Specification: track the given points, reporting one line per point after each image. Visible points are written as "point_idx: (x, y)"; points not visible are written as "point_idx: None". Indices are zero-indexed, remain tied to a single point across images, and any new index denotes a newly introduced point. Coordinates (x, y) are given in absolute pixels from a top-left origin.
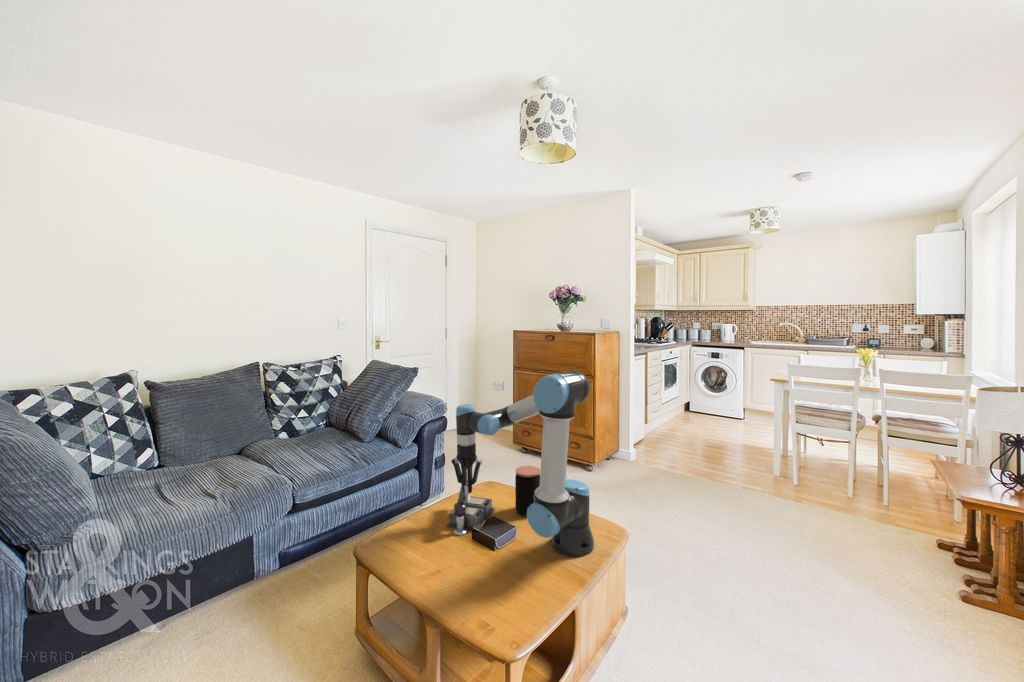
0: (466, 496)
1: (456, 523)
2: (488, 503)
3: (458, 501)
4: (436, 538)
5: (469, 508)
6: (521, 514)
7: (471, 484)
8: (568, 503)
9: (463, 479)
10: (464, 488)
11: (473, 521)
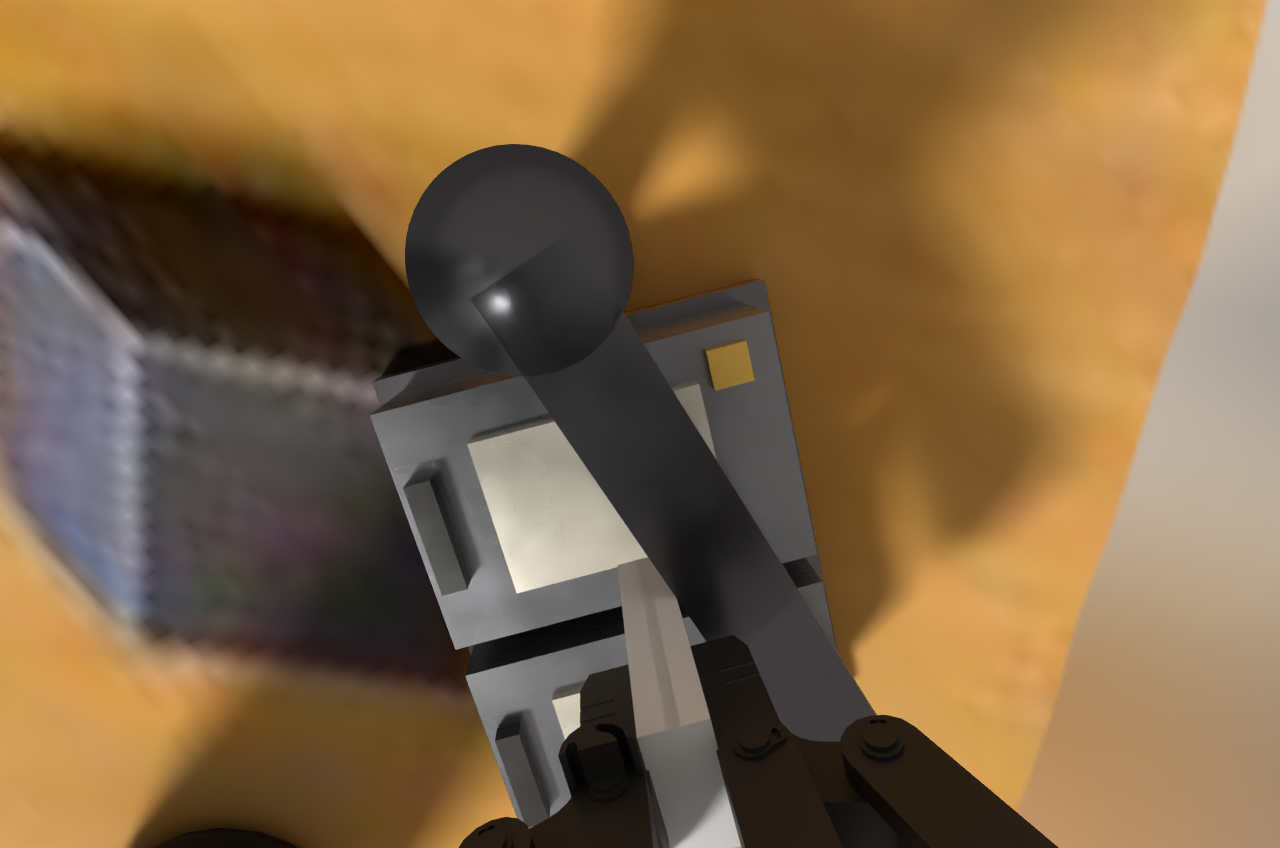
0: (646, 599)
1: (656, 324)
2: (502, 768)
3: (631, 357)
4: (700, 8)
5: (616, 550)
6: (215, 833)
7: (560, 817)
8: None
9: (781, 839)
10: (722, 689)
11: (437, 388)
